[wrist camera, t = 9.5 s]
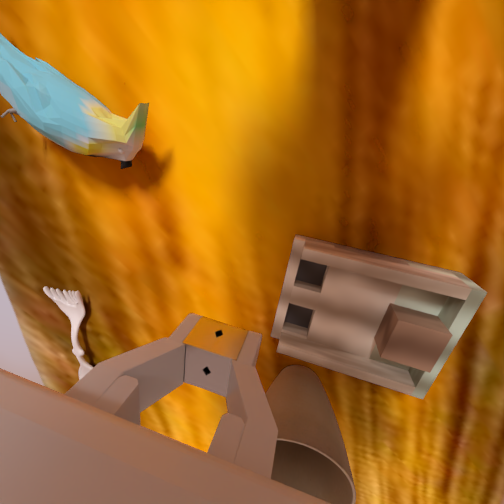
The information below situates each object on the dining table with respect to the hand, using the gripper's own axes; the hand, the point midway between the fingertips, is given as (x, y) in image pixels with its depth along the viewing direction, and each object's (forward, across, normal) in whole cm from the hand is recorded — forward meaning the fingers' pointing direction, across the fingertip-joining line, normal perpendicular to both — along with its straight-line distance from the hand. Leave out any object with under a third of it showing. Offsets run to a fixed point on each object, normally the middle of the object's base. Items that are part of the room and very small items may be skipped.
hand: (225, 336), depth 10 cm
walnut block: (+25, -18, +13) cm, 33 cm away
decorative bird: (+28, +33, -12) cm, 45 cm away
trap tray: (+28, -12, +12) cm, 32 cm away
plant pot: (+27, -8, +30) cm, 42 cm away
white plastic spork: (+27, +39, +40) cm, 63 cm away
